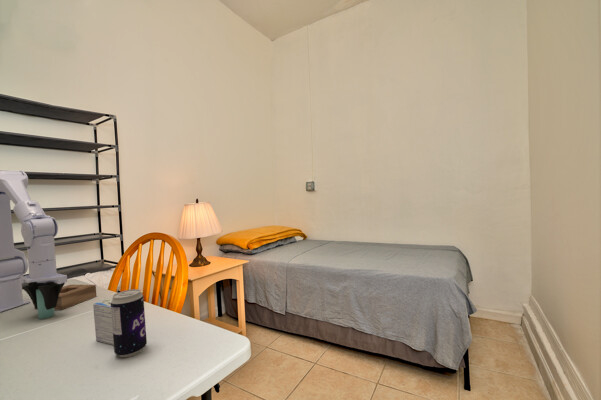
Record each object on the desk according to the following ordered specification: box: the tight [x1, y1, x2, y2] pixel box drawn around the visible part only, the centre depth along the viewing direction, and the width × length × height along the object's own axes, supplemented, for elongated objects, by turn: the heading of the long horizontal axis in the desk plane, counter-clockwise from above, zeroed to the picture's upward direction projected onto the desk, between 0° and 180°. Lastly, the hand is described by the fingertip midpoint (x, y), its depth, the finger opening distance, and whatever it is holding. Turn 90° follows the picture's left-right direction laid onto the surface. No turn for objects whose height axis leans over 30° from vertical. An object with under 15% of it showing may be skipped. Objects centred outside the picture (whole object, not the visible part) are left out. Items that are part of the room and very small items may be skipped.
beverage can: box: [111, 288, 148, 358], centre depth 57 cm, size 6×6×12 cm
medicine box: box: [93, 296, 114, 346], centre depth 63 cm, size 8×4×9 cm, turn 65°
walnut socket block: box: [54, 284, 97, 311], centre depth 90 cm, size 11×11×4 cm
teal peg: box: [36, 289, 56, 320], centre depth 79 cm, size 4×4×8 cm
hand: (45, 308), depth 79 cm, fingers closed on teal peg, 3 cm apart
